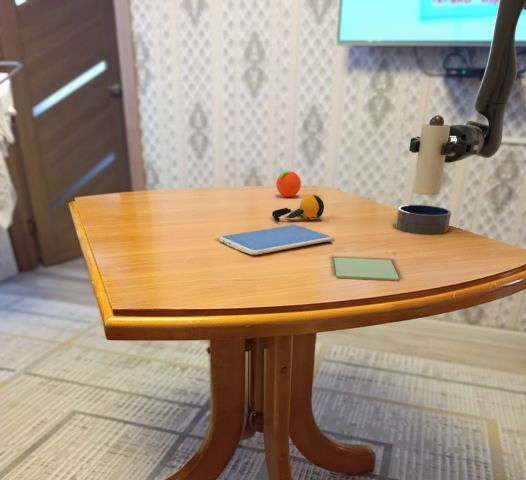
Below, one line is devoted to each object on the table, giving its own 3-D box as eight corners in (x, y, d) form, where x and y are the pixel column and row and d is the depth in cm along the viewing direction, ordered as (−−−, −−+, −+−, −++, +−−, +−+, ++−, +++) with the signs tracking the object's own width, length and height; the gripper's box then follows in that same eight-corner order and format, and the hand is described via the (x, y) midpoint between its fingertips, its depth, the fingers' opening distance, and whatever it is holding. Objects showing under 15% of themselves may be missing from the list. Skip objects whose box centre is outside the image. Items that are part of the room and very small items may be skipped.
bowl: (440, 225, 116) (444, 205, 114) (452, 238, 106) (456, 216, 104) (392, 223, 117) (394, 203, 115) (399, 235, 107) (402, 214, 105)
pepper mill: (436, 191, 109) (448, 114, 102) (441, 195, 104) (455, 115, 97) (410, 190, 109) (421, 114, 103) (415, 194, 104) (426, 115, 98)
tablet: (253, 257, 91) (253, 250, 90) (217, 241, 100) (217, 235, 99) (333, 243, 101) (334, 236, 100) (294, 229, 110) (295, 223, 109)
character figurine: (284, 233, 114) (331, 213, 116) (275, 209, 113) (322, 189, 115) (272, 235, 124) (315, 217, 126) (263, 213, 122) (307, 195, 124)
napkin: (390, 262, 90) (390, 260, 90) (399, 281, 81) (399, 278, 81) (333, 259, 91) (334, 257, 91) (336, 278, 82) (336, 275, 82)
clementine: (288, 200, 139) (289, 173, 136) (268, 197, 143) (269, 170, 140) (305, 196, 145) (306, 170, 141) (285, 193, 149) (286, 168, 145)
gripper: (427, 123, 115) (396, 125, 103) (493, 126, 107) (468, 129, 95) (422, 158, 118) (391, 164, 106) (486, 163, 111) (461, 171, 99)
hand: (428, 148), depth 101 cm, fingers closed on pepper mill, 5 cm apart
